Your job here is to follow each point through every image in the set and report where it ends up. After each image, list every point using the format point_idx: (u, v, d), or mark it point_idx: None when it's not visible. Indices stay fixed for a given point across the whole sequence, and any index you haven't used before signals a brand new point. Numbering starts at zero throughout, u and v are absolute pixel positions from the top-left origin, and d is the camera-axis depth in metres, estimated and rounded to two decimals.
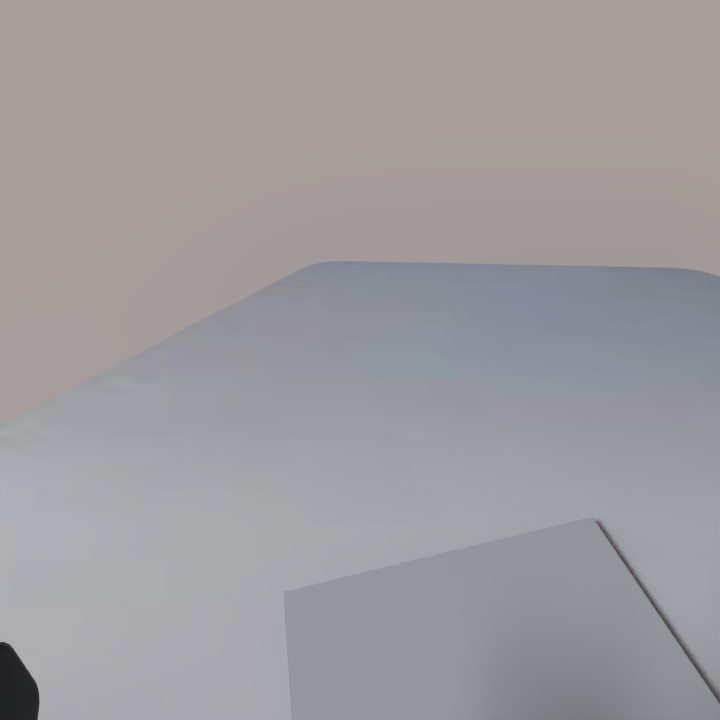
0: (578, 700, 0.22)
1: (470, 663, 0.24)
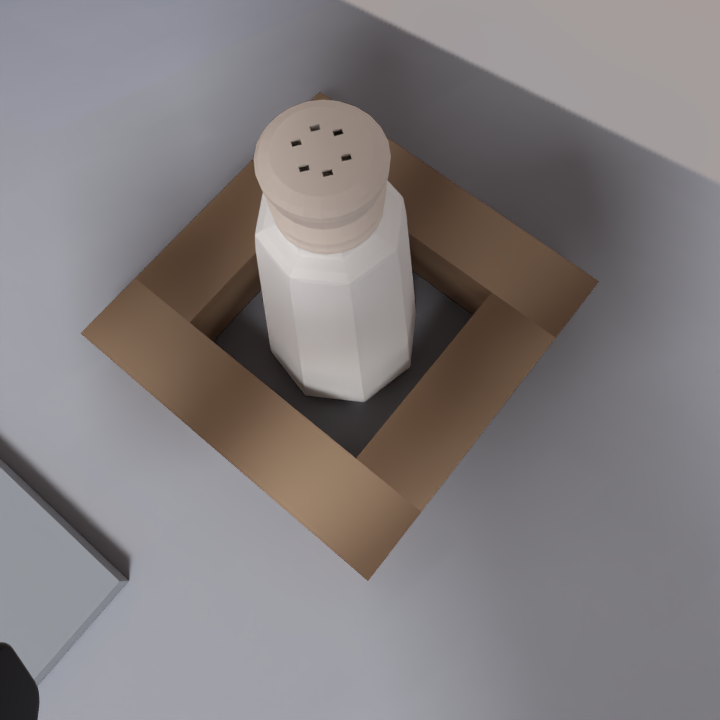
0: None
1: None
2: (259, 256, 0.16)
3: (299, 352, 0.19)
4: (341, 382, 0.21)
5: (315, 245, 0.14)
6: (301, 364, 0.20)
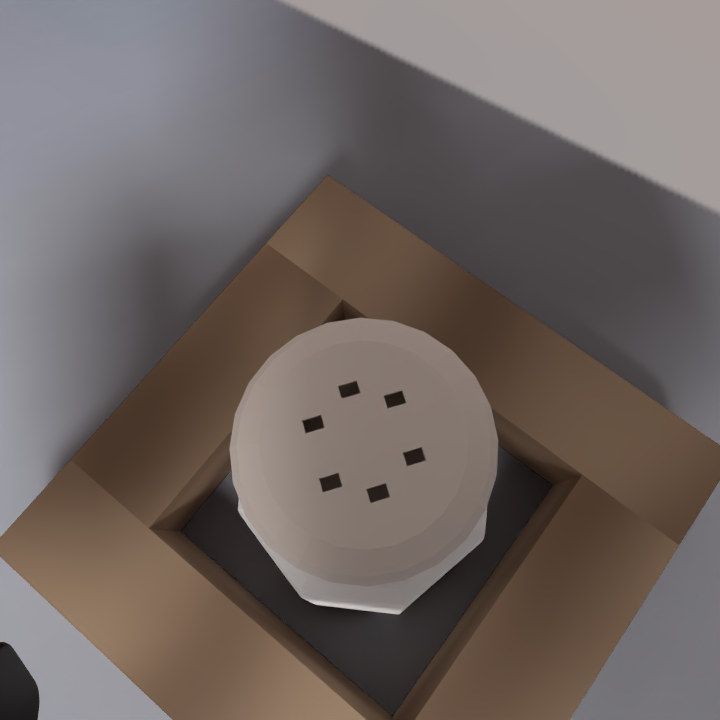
0: None
1: None
2: None
3: (311, 601, 0.13)
4: (369, 610, 0.15)
5: None
6: (313, 602, 0.14)
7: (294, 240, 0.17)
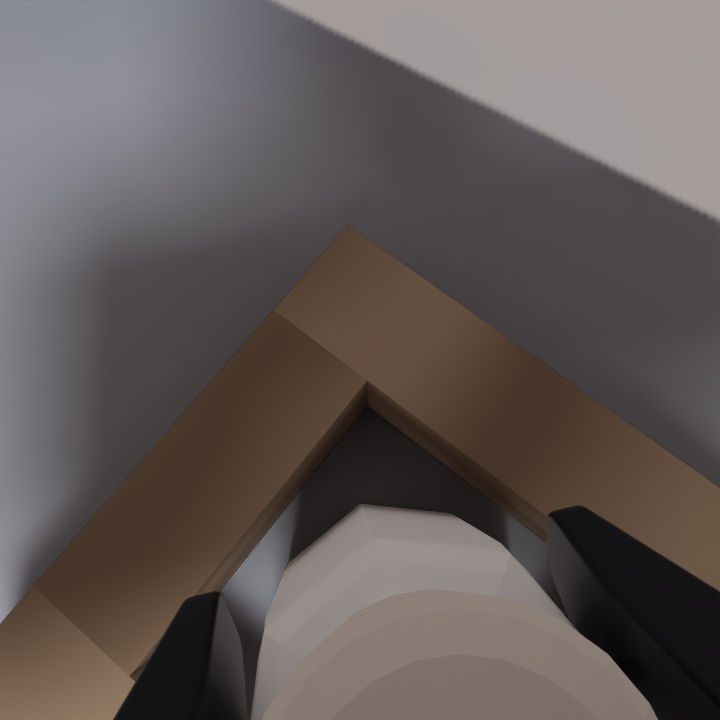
0: None
1: None
2: None
3: None
4: None
5: None
6: None
7: (307, 306, 0.14)
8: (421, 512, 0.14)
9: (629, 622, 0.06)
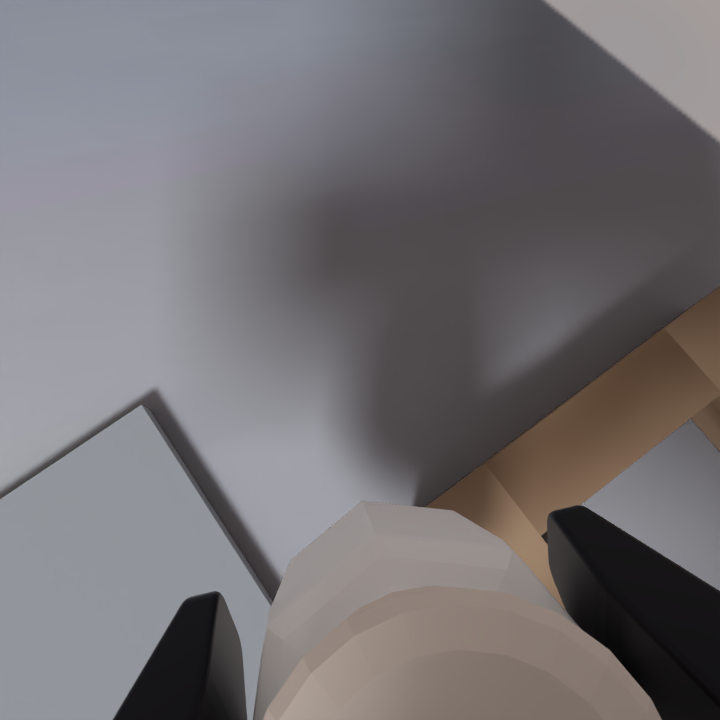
0: None
1: (19, 696, 0.19)
2: None
3: None
4: None
5: None
6: None
7: (688, 332, 0.20)
8: (423, 509, 0.14)
9: (629, 622, 0.06)
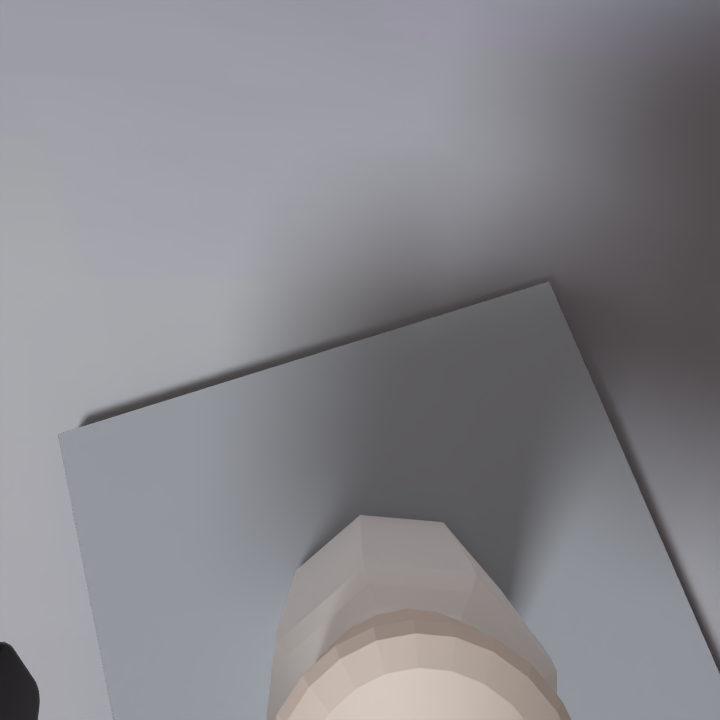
0: None
1: None
2: None
3: None
4: None
5: None
6: None
7: None
8: (415, 523, 0.15)
9: None
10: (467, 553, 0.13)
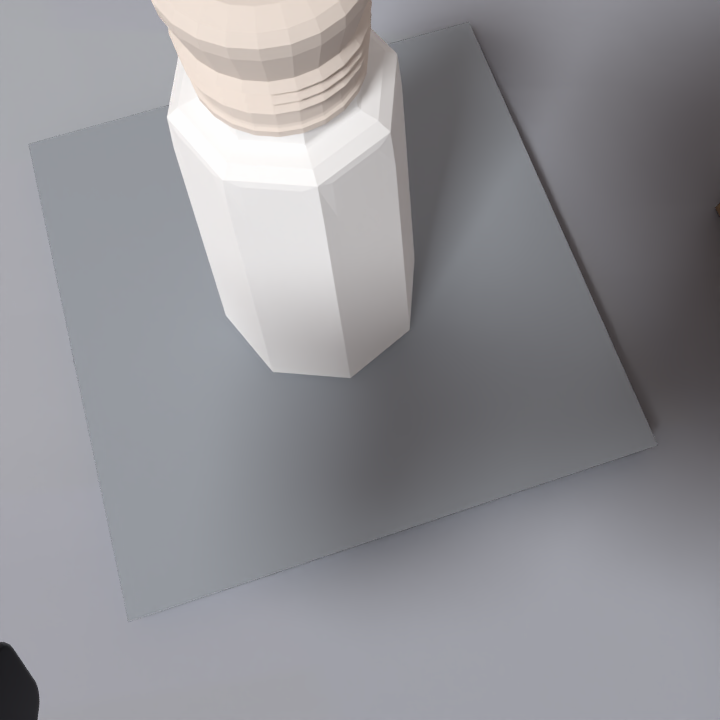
0: (422, 275, 0.18)
1: None
2: (180, 157, 0.11)
3: (256, 310, 0.14)
4: (318, 352, 0.16)
5: (258, 119, 0.09)
6: (261, 328, 0.15)
7: None
8: None
9: None
10: None
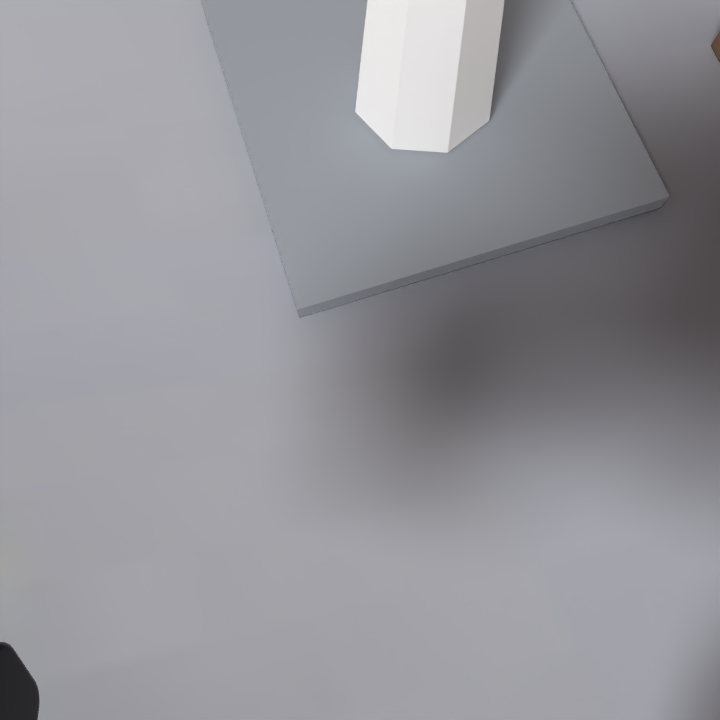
0: (496, 86, 0.25)
1: None
2: None
3: (401, 66, 0.20)
4: (432, 117, 0.22)
5: None
6: (398, 89, 0.21)
7: None
8: None
9: None
10: None
